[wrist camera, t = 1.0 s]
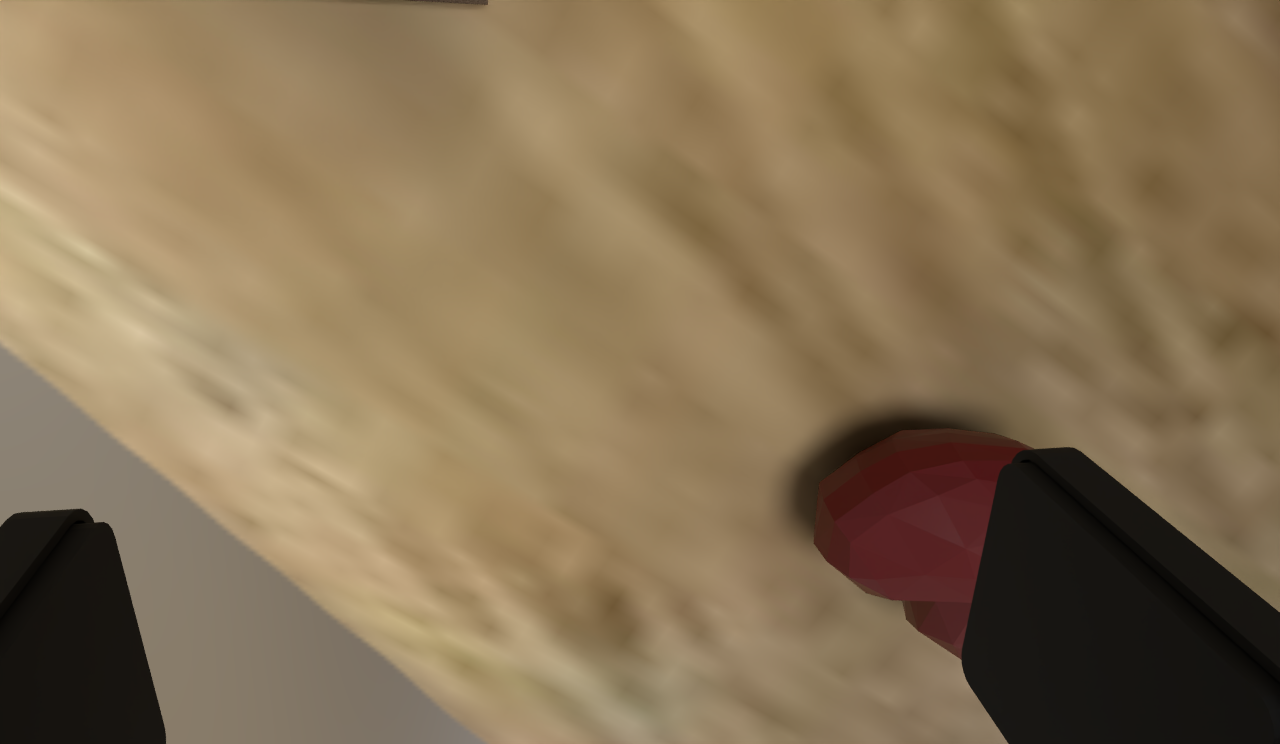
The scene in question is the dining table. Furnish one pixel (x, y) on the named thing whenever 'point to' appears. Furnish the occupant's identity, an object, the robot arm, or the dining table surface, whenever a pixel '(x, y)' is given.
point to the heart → (915, 522)
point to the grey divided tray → (459, 1)
